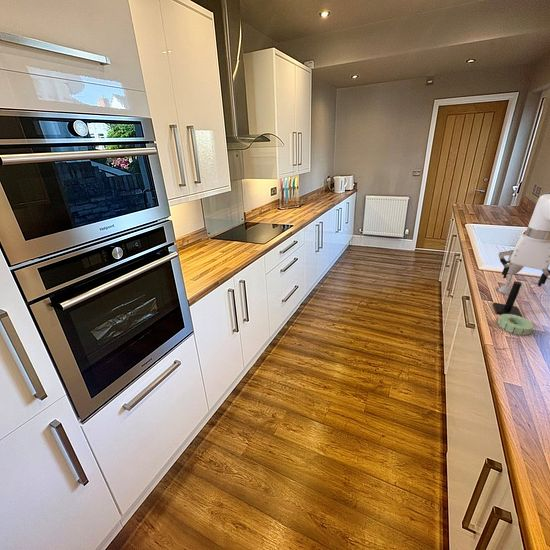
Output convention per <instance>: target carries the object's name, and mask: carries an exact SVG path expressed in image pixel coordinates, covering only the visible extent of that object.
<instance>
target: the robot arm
mask: <svg viewBox="0 0 550 550" xmlns="http://www.w3.org/2000/svg"><path fill="white" fill-rule="evenodd" d="M509 255H511V260H509V261H507V260H506V258H505V257H507V256H509ZM498 258H499V261H500V263H501V264H502V266H503V270H502V272H501V276H502V279H506V278H507V275H508V274H509V273H508V270H509V266H511V265H513V264H516V265H520V266H524V268H525V267H526V268H531V269H535V270H540V271H542V273H541V275H540V278H539V280H538V282H537V286H538V287H542V285H545V284H546V282H547V279H548V278H549V277H550V269H549V267H550V193H544V194H542V195H540V196H539V198H538V199H537V202H536V204H535V207H534V210H533V212H532V215H531V217H530V220H529V223H528V225H527V228H526V230H525V233H523V234H522V233H521V235H520V237H519V238H518V240H517V242H516V244H515V246H514V248H513V250H506V251H500V252H498Z"/></svg>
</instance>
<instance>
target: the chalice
mask: <svg viewBox="0 0 550 550" xmlns="http://www.w3.org/2000/svg"><path fill="white" fill-rule="evenodd" d="M509 260H511V255H508V257H507V260H506V261H509ZM524 268H525V266H520V265H516V264H513V265H511V266H509V270H508V273H507V274H509V276H508V277H507V279H506V280H505V282H506V283H505V284H504V285H501V286H500V287H499V288H498V289H497V291H498V292H500V293H502V294H504V295H505V294H506V295H509V294H510V291H511V289H512V287H511V286H510V284H511V283H512V281H511V280H512V279H513V276H514V275H517V274H518V273H519V272H521V271H522V269H524Z"/></svg>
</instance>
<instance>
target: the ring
mask: <svg viewBox="0 0 550 550" xmlns="http://www.w3.org/2000/svg"><path fill="white" fill-rule="evenodd" d="M497 325H498V327H500V328H501V329H502V330H504V331H505V332H509V333H511V334H515V335H519V336H528V335H530V334H531V333H532V332H533V329H534V327H535V326H534V324H533V322H532V321H530V320H528V319H527V318H525V317H523V316H522V317H520V316H517V315H512V314H502V315H501V314H500V315H499V317H498V320H497Z"/></svg>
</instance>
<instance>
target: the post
mask: <svg viewBox="0 0 550 550" xmlns="http://www.w3.org/2000/svg"><path fill="white" fill-rule="evenodd" d="M522 285H523V283H522V282H521V281H516V280H514V282H513V283H512V286H511V291H510V294H508V297H507V299H506V300H505V303H500V302H493V304H492V306H493V308H494V311H495V313H496V314H497V315H500V316H501V315H502V314H512V315H517V316H520V317H523V315H522V313H521V311H520V309H519V308H518V306H516V305H514V304H515V302H516V300H517V297H518V295H519V292H520V290H521V287H522Z"/></svg>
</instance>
